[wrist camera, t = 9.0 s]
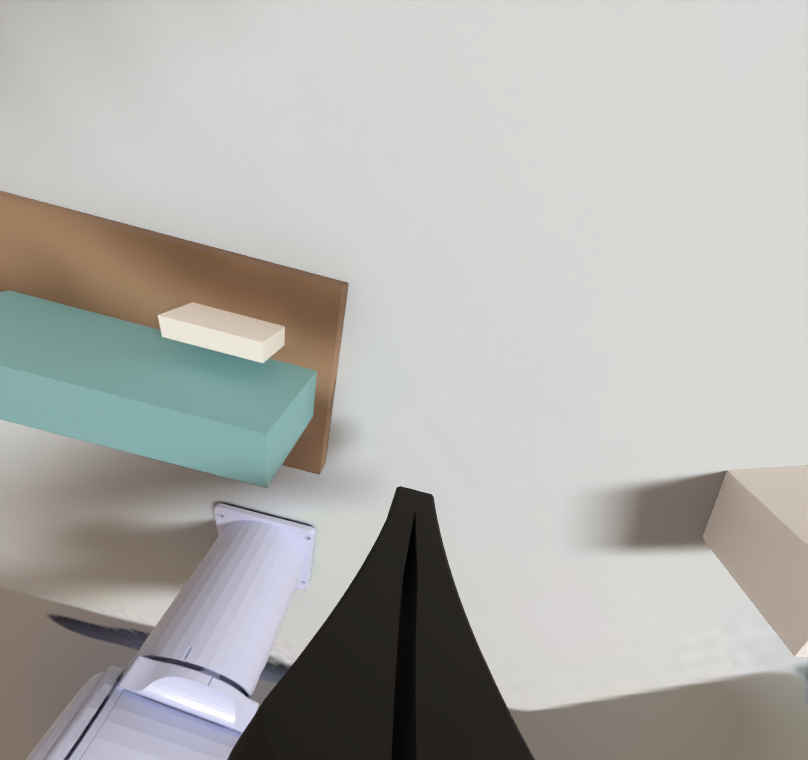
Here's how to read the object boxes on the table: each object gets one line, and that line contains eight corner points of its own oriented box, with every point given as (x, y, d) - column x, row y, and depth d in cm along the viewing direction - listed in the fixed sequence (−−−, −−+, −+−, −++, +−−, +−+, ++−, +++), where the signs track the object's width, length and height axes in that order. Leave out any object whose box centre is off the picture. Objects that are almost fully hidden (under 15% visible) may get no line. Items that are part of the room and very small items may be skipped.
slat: (313, 416, 17) (266, 488, 12) (33, 343, 17) (-112, 390, 12) (317, 370, 15) (266, 434, 11) (9, 290, 15) (-165, 322, 11)
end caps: (282, 435, 18) (264, 459, 16) (-28, 355, 18) (-80, 370, 16) (284, 326, 14) (262, 342, 13) (-104, 224, 14) (-181, 226, 12)
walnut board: (325, 463, 20) (319, 474, 19) (-29, 371, 20) (-50, 378, 19) (348, 283, 14) (342, 287, 13) (-162, 148, 14) (-203, 144, 13)
